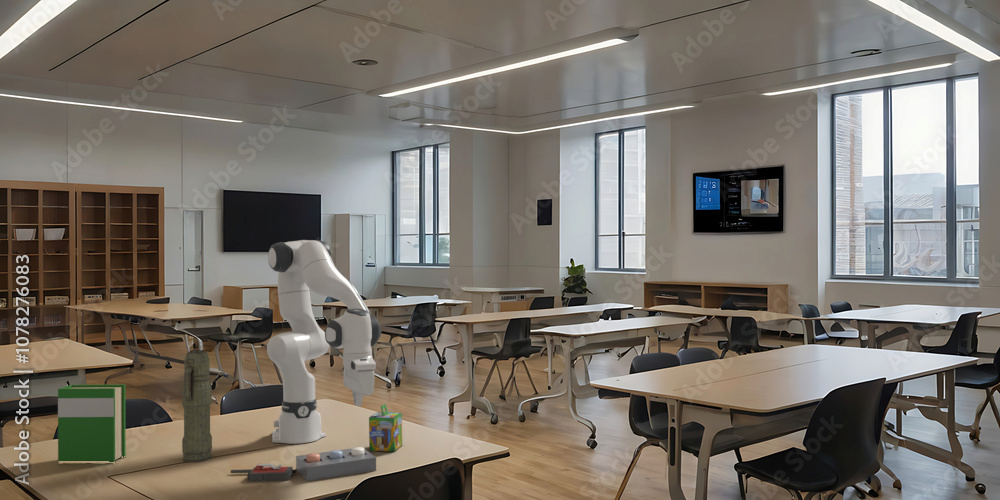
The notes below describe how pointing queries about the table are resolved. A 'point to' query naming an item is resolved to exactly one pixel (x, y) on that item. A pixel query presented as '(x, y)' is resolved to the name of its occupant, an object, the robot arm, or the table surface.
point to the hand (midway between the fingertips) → (357, 405)
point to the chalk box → (385, 431)
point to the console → (335, 465)
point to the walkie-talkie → (268, 473)
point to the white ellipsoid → (357, 451)
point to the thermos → (196, 407)
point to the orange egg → (312, 457)
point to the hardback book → (91, 423)
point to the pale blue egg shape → (335, 454)
